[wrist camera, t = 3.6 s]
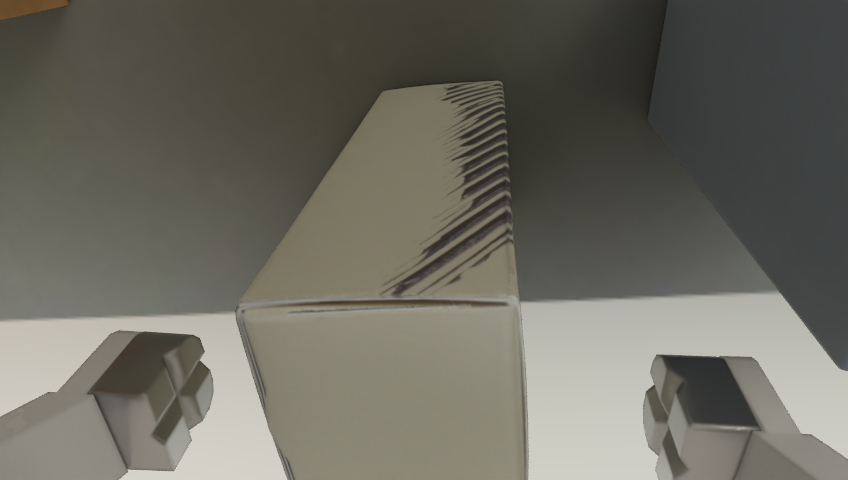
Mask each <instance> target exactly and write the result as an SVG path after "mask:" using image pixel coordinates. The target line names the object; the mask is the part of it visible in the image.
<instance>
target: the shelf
mask: <svg viewBox="0 0 848 480" xmlns="http://www.w3.org/2000/svg"><path fill="white" fill-rule="evenodd" d="M68 5H69V4H68V0H0V21H1V20H6V19H10V18H15V17H19V16H24V15H28V14H33V13H37V12H42V11H46V10H51V9H55V8H60V7H64V6H68Z"/></svg>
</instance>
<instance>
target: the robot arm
mask: <svg viewBox="0 0 848 480" xmlns="http://www.w3.org/2000/svg"><path fill="white" fill-rule="evenodd" d="M204 352H205V351H204V349H203V346H202V343H201V340H200V338H198V337H196V336H194V335H187V334H172V333H157V332H134V331H117V332H114V333H111V334H110V335H109V336H108V337H107V338H106V339H105V340H104V341H103V343H102V344H101V345H100V346H99V347H98V348H97V349H96V350H95V351H94V352H93V353H92V354H91V356H90V357H89V358H88V359H87V360H86V361H85V362H84V363H83V364H82V365H81V367H80V368H79V369H78V370H77V371H76V372H75V373H74V374H73V375H72V376H71V377H70V378H69V380H68V381H67V382H66V383H65V384H64V385H63V386H62V387H61V388H60V389H59V390H58V392H48V393H46V394H44V395H42V396H40V397H38V398H36V399H34V400H32V401H30V402H28V403H26V404H24V405H23V406H21V407H19V408H17V409H15V410H13V411H11V412H9V413H7V414H5V415H3V416H1V417H0V480H119V479H120V478H121V477H122V476H123V475H125V474H126V473H127V472H128V470H127V469H131V470H156V471H174V470H175V469H176V467H177V465H178V463H179V461H180V460H181V458H182V456H183V454H184V453H185V451H186V449H187V448H188V446H189V444H190V443H191V441H192V440H191V435H190V431H189V430H190V429H191V428H193V427H194V426H196V425H197V424H198V423H200V422H202V421H203V419H204V418H205V416H206V414H207V412H208V410H209V408H210V405H211V401H212V397H213V378H212V375H211V372H210V370H209V369H208V368H207V367H206V366H205V365H204V364H203V363H202V362H201V361H200V359H201V357H202V355H203V354H204ZM650 373H651V376H652V379H653V382H654V385H653V386H652V387H651V388H650V389H649V390H648V391H646V394H645V400H644V405H643V424H644V430H645V435H646V439H647V442H648V446H649V448H650V449H651V450H652V451H654V452H655V453H656V454H657V455H658V456H659V457H658V461H657V466H656V473H657V477H658V480H848V459H847V458H845V457H844V456H842V455H841V454H839V453H838V452H836V451H835V450H833V449H832V448H831V447H829V446H828V445H826V444H825V443H823V442H822V441H820V440H819V439H817V438H816V437H814V436H813V435H811V434H801V433H800V431H799V429H798V428H797V426H796V424H795V423H794V421H793V419H792V418H791V416H790V414H789V413H788V411H787V410H786V408H785V406H784V405H783V403H782V401H781V400H780V398H779V397H778V395H777V393H776V391H775V390H774V388H773V387H772V385H771V383H770V382H769V380H768V379H767V377H766V375H765V373H764V372H763V370H762V368H761V367H760V365H759V364H758V362H757V361H756V360H755V359H753V358H752V357H728V356H720V357H710V356H682V355H656V357H655V358H654V360H653V363H652V367H651V371H650Z"/></svg>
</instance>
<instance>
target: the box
mask: <svg viewBox="0 0 848 480" xmlns="http://www.w3.org/2000/svg"><path fill="white" fill-rule="evenodd" d="M508 152H509V150H508V140H507V123H506V109H505V96H504V88H503V84H502V82H501V81H485V82H465V83H451V84H437V85H425V86H417V87H408V88H401V89H393V90H386V91H383V92H382V93H381V94H380V96H379V97H378V99H377V100H376V101H375V103H374V105H373V106H372V108H371V109H370V111H369V112H368V114H367V115H366V116H365V118H364V119H363V121H362V122H361V124H360V125H359V127H358V128H357V130H356V131H355V133H354V134H353V136H352V137H351V139H350V140H349V142H348V143H347V144H346V146H345V147H344V149H343V150H342V152H341V153H340V155H339V156H338V158H337V159H336V161H335V162H334V164H333V165H332V167H331V168H330V169H329V171H328V172H327V174H326V175H325V177H324V178H323V180H322V181H321V183H320V184H319V186H318V187H317V189H316V190H315V192H314V193H313V195H312V196H311V198H310V199H309V201H308V202H307V204H306V205H305V207H304V208H303V210H302V211H301V213H300V214H299V216H298V217H297V218H296V220H295V221H294V223H293V224H292V226H291V227H290V229H289V230H288V232H287V233H286V235H285V236H284V238H283V239H282V241H281V242H280V243H279V245H278V246H277V248H276V249H275V251H274V252H273V253H272V255H271V256H270V258H269V259H268V261H267V262H266V264H265V265H264V266H263V268H262V269H261V270H260V272H259V273H258V275H257V276H256V277H255V279H254V280H253V282H252V283H251V285H250V286H249V288H248V289H247V291H246V292H245V293H244V294H243V296H242V297H241V299H240V300H239V302H238V305H237V307H236V310H235V312H236V321H237V325H238V327H239V331H240V335H241V338H242V342H243V346H244V349H245V352H246V356H247V359H248V362H249V365H250V368H251V372H252V375H253V379H254V382H255V385H256V388H257V392H258V395H259V398H260V401H261V404H262V407H263V410H264V414H265V417H266V419H267V423H268V427H269V430H270V432H271V434H272V436H273V439H274V442H275V445H276V448H277V451H278V454H279V457H280V459H281V462H282V465H283V468H284V471H285V474H286V476H287V479H288V480H528V413H527V412H528V411H527V386H526V368H525V355H524V341H523V330H522V319H521V307H520V299H519V291H518V281H517V272H516V262H515V250H514V236H513V220H512V203H511V187H510V171H509V153H508Z"/></svg>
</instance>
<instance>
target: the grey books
mask: <svg viewBox="0 0 848 480" xmlns="http://www.w3.org/2000/svg"><path fill="white" fill-rule="evenodd" d="M647 120H648V123H649V124H650V125H651V126H652V128H653V129H654V130H655V132H656V133H657V134H658V135H659V137H660V138H661V139H662V141H663V142H664V143H665V144H666V146H667V147H668V148H669V150H670V151H671V152H672V154H673V155H674V156H675V157H676V159H677V160H678V161H679V163H680V164H681V165H682V166H683V168H684V169H685V170H686V172H687V173H688V174H689V175H690V177H691V178H692V179H693V181H694V182H695V183H696V185H697V186H698V187H699V188H700V190H701V191H702V192H703V194H704V195H705V196H706V197H707V199H708V200H709V201H710V203H711V204H712V205H713V207H714V208H715V209H716V210H717V212H718V213H719V214H720V216H721V217H722V218H723V219H724V221H725V222H726V223H727V225H728V226H729V227H730V228H731V230H732V231H733V232H734V234H735V235H736V236H737V238H738V239H739V240H740V241H741V243H742V244H743V245H744V247H745V248H746V249H747V250H748V252H749V253H750V254H751V256H752V257H753V258H754V260H755V261H756V262H757V263H758V265H759V266H760V267H761V269H762V270H763V271H764V272H765V274H766V275H767V276H768V278H769V279H770V280H771V281H772V283H773V284H774V285H775V287H776V288H777V289H778V291H779V292H780V293H781V294H782V296H783V297H784V298H785V300H786V301H787V302H788V303H789V305H790V306H791V307H792V309H793V310H794V311H795V312H796V314H797V315H798V316H799V318H800V319H801V320H802V321H803V322H804V324H805V325H806V327H807V328H808V329H809V330H810V332H811V333H812V334H813V336H814V337H815V338H816V340H817V341H818V342H819V344H820V345H821V346H822V347H823V349H824V350H825V351H826V352H827V354H828V355H829V356H830V358H831V359H832V360H833V362H834V363H835V364H836V365H837V366H838V368H840V369H842V370H845V371H848V0H668V3H667V9H666V14H665V20H664V26H663V32H662V38H661V43H660V49H659V55H658V61H657V66H656V72H655V78H654V84H653V90H652V95H651V101H650V107H649V113H648V119H647Z"/></svg>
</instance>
